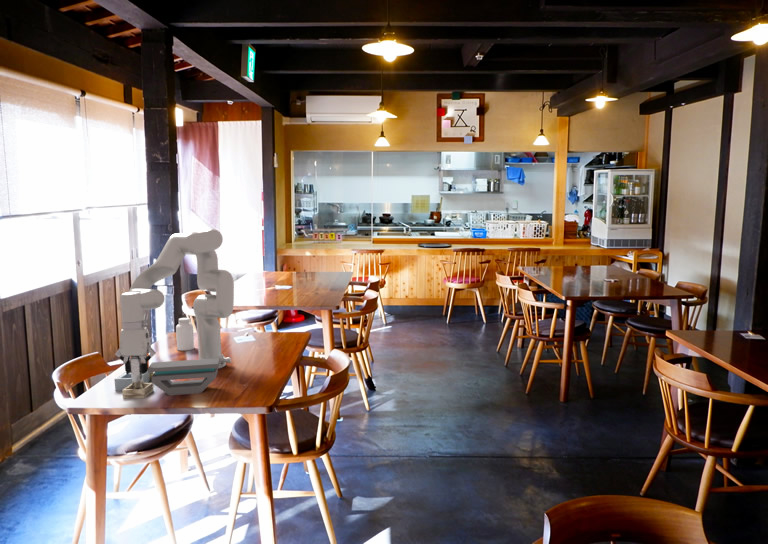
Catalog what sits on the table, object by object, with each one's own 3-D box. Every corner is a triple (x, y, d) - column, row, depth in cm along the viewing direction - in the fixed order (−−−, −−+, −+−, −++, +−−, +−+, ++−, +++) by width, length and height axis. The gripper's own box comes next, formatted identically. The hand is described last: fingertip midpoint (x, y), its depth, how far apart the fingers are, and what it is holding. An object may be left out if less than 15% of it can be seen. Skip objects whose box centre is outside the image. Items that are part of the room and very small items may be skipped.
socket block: (153, 378, 239) (152, 368, 239) (138, 390, 226) (137, 378, 225) (131, 378, 240) (131, 368, 239) (115, 390, 226) (114, 379, 225)
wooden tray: (153, 390, 225) (152, 382, 224) (144, 397, 217) (143, 389, 217) (132, 390, 225) (132, 383, 225) (122, 397, 217) (122, 389, 217)
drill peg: (145, 389, 223) (143, 354, 221) (141, 393, 219) (138, 357, 217) (135, 389, 223) (132, 354, 221) (130, 393, 219) (127, 357, 217)
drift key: (159, 378, 239) (159, 371, 239) (156, 381, 236) (155, 374, 235) (141, 378, 239) (141, 371, 239) (137, 381, 236) (137, 374, 235)
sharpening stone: (149, 396, 218) (147, 368, 217) (154, 390, 226) (152, 362, 224) (219, 391, 222) (217, 363, 221) (221, 385, 230) (219, 358, 229)
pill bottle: (197, 348, 287) (196, 317, 285) (184, 351, 281) (182, 321, 279) (187, 346, 292) (185, 316, 290) (173, 349, 285) (171, 319, 283)
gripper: (160, 322, 221) (163, 369, 223) (115, 323, 222) (119, 370, 224) (152, 327, 214) (155, 375, 216) (105, 327, 214) (109, 376, 217)
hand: (136, 372), depth 220 cm, fingers open, 5 cm apart
